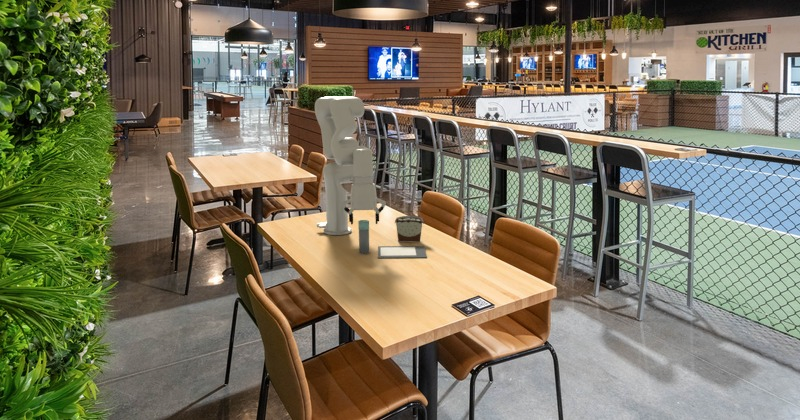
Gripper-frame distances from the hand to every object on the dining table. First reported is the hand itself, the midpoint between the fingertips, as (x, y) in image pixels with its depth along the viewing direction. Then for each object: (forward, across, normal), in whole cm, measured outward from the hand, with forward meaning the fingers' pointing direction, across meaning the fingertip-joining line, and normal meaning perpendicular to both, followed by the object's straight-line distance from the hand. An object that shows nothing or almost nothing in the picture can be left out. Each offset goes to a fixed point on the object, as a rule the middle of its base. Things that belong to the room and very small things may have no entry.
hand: (364, 223), depth 229 cm
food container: (+12, +19, +19) cm, 29 cm away
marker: (+12, 0, +1) cm, 12 cm away
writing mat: (+12, +15, +1) cm, 19 cm away
